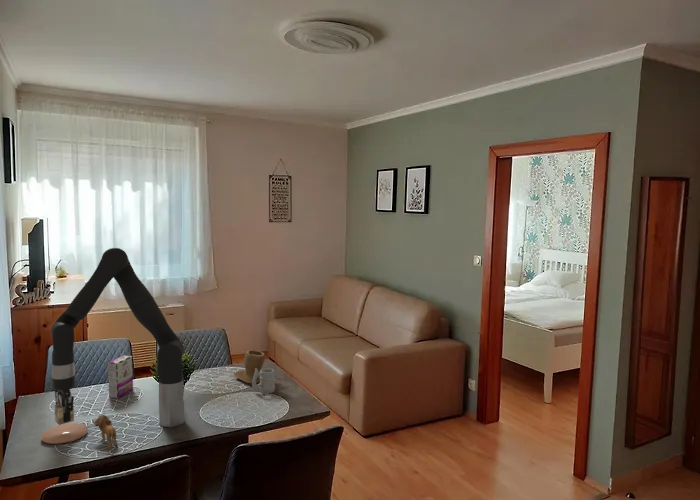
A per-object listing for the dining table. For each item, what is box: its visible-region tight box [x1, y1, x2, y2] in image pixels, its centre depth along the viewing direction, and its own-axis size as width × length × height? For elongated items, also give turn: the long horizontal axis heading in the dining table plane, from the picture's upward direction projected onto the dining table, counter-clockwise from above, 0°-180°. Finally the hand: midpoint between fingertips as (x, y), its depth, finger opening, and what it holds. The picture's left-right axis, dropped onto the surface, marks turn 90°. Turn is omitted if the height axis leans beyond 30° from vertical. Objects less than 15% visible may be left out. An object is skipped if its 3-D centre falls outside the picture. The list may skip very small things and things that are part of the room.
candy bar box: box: [107, 355, 134, 399], centre depth 229 cm, size 11×5×16 cm, turn 168°
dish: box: [40, 422, 88, 445], centre depth 187 cm, size 15×15×2 cm
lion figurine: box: [93, 414, 119, 450], centre depth 183 cm, size 15×5×9 cm, turn 51°
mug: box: [251, 367, 276, 394], centre depth 236 cm, size 8×12×12 cm, turn 129°
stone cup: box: [233, 349, 266, 384], centre depth 251 cm, size 15×12×15 cm
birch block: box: [53, 403, 75, 425], centre depth 187 cm, size 5×5×6 cm
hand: (64, 419), depth 187 cm, fingers closed on birch block, 5 cm apart
